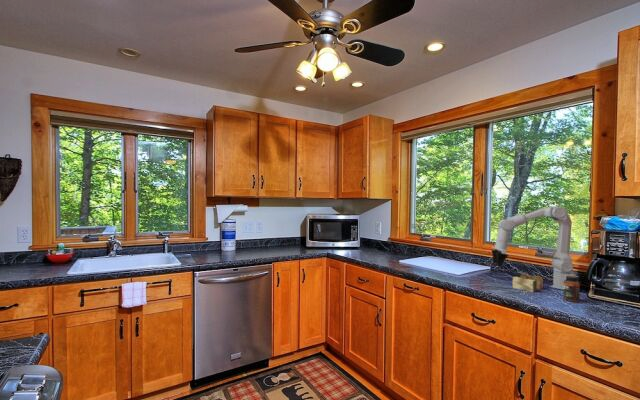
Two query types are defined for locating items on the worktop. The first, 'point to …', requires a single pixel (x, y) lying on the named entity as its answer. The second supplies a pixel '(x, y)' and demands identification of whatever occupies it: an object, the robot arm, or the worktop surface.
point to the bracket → (537, 278)
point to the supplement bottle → (571, 289)
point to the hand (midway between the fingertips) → (497, 264)
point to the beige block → (524, 284)
